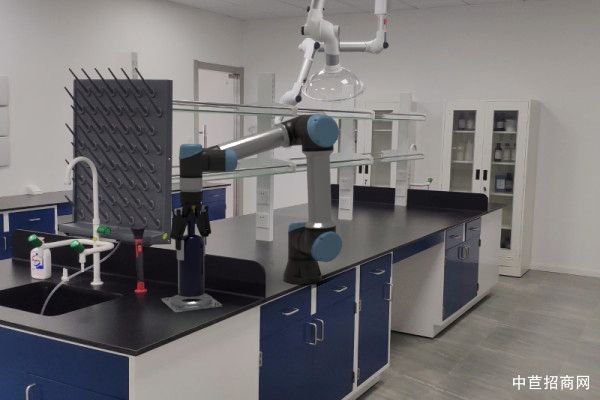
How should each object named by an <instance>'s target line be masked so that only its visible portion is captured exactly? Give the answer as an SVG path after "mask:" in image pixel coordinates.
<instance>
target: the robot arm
mask: <svg viewBox="0 0 600 400" xmlns="http://www.w3.org/2000/svg"><path fill="white" fill-rule="evenodd" d="M339 129H340V128H339V126H338V124H337V122H336V120H334V118H333V117H332V116H331V115H328V114H324V113H313V114H301V115H298V116H295V117H293V118H290V119H287V120H284V121H282V122H279V123H277V124H276V125H275V127H271V128H267V129H265V130H262V131H258V132H255V133H252V134H249V135H245V136H242V137H239V138H235V139H232V140H228V141H226V142H222V143H219V144H216V145H211V146H209V147H203V144H201V143H183V144H182V143H181V145H180V146H179V155H178V162H179V163H178V164H179V189H180V191H179V202H180V206H179V207H178V208H173V209H172V223H171V229H170V236H169V238H170V239H172V240H174V243H175V246H174V247H175V250H176V260H177V261H178V260H184V240H182V238H183V236H184V235H185V232H186V230H187V224H188V222H189V221H190V219H191V218H192V216H191V215H192V214H193V211H194V210H193V209H192V206H195V213H196V215H195V226H196V228H197V231H198V232H199V236H200V237H201V238H202V239H203V241H204V257H205V256H206V246H207V237H209V236H210V234H212V228H211V222H210V216H209V205H202V202H203V191H202V190H203V186H204V185H203V174H204V173H229V172H230V173H231V172H234V171H236V169H237V167H238V161H239V160H242V159H243V160H244V159H245V158H249V157H252V156H255V155H258V154H262V153H265V152H268V151H271V150H274V149H277V148H280V147H282V148H284V149H287V148H290V147H294V146H295V147H296V146H301V152H302V154H303V155H305V158H306V159H305V161H306V180H307V181H306V183H307V204H308V205H307V211H308V213H307V215H308V221H304V222H292V223H290V224H289V225H288V230H287V234H288V235H287V240H288V242H287V249H288V252H287V263H286V265H285V269H284V271H283V277H282V278H283V281H284V282H286V283H288V284H293V285H313V284H317V283H321V282H322V280H323V279H322V278H323V275H322V272H321V268H320V265H319V262H322V263H329V262H332V261H334V260H335V259H337V257H338V256H339V255H340V253H341V251H342V248H343V241H342V237H341V236H340V235H339V234H338V233H337V224H336V222H335V221H333V217H332V216H333V214H332V191H331V190H332V189H331V188H332V186H331V158H330V156H331V155H332V153H333V152H334V151H335V150H334V149H335V147H334V145H335V143H336V142H337V140H338V139H339V135H340V130H339Z"/></svg>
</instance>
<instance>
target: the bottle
mask: <svg viewBox="0 0 600 400" xmlns="http://www.w3.org/2000/svg"><path fill="white" fill-rule="evenodd" d="M192 209H193V210H194V211H193V214H192V215H191V216H192V218H191V219H190V221H189V222H188V224H187V226H186V234H184V235H183V238H182V240H184V260H178V259H177V295H179V296H184V297H197V296H201V295H203V294H206V293H205V291H206V290H205V288H206V286H205V285H206V283H205V256H204V241H203V239H202V238H201V237H200V236H201V235H200V234H196V223H195V215H196V213H195V206H192Z"/></svg>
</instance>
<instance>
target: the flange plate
mask: <svg viewBox="0 0 600 400" xmlns="http://www.w3.org/2000/svg"><path fill="white" fill-rule="evenodd" d="M161 301H162V302H163V303H164V304H165V305H166V306H168V308H170V309H171V310H172V311H173V312H174V313H181V312H189V311H197V310H205V309H212V308H220V307H221V308H222V307H223V304H222V303H220V302H219V301H218V300H217V299H215V298H213V297H212V296H211V295H209V294H208V293H205V294H203V295H201V296H197V297H184V296H179V294H175V295H173V296H172V297H163V298H161Z"/></svg>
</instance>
